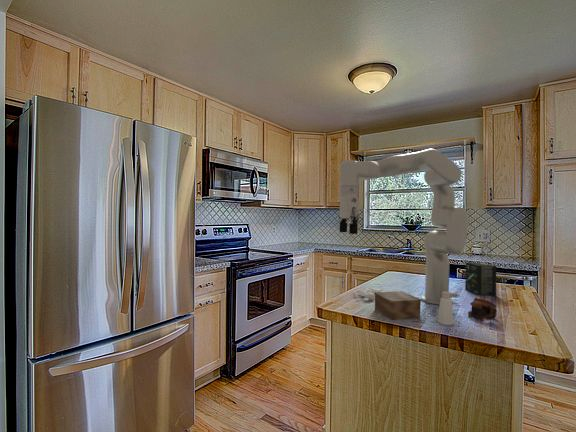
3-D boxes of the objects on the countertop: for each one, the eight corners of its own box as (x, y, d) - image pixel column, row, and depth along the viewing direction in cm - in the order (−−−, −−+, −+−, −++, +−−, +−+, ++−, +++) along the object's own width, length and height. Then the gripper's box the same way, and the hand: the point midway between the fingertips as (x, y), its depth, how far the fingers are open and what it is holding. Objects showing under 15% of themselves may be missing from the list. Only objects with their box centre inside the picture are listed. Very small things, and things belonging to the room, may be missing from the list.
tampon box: (496, 295, 150) (497, 265, 150) (477, 295, 150) (478, 265, 150) (482, 290, 161) (483, 262, 161) (464, 289, 161) (465, 261, 161)
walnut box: (401, 307, 127) (401, 291, 127) (420, 318, 115) (421, 299, 115) (374, 309, 124) (374, 292, 124) (391, 320, 112) (391, 301, 112)
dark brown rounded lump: (460, 315, 120) (466, 296, 122) (482, 326, 120) (488, 307, 122) (482, 318, 109) (488, 296, 111) (506, 330, 108) (512, 308, 111)
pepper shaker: (451, 326, 107) (452, 295, 106) (435, 322, 110) (436, 292, 110) (455, 322, 111) (456, 292, 111) (439, 319, 114) (440, 289, 114)
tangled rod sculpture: (351, 293, 155) (350, 284, 155) (379, 291, 154) (379, 283, 154) (358, 303, 135) (357, 293, 136) (391, 301, 135) (390, 291, 135)
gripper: (367, 190, 118) (366, 234, 118) (348, 192, 135) (347, 231, 135) (349, 189, 116) (348, 234, 117) (332, 192, 133) (331, 231, 133)
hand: (348, 233), depth 126 cm, fingers open, 9 cm apart
